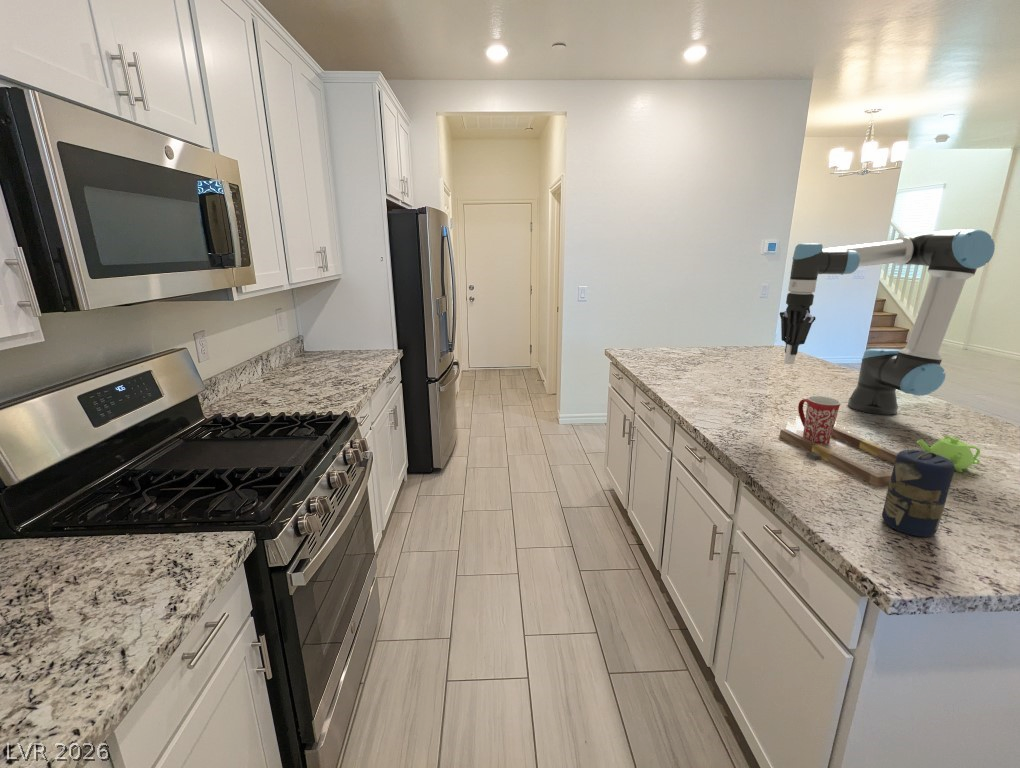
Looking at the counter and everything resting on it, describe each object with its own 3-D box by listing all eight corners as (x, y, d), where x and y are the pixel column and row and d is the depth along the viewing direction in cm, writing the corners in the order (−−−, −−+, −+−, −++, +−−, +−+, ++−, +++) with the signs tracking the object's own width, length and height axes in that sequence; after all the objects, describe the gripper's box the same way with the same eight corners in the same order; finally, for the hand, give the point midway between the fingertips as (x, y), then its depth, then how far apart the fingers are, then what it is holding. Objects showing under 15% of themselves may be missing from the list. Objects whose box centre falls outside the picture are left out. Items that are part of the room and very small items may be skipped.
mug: (840, 444, 148) (848, 403, 145) (816, 446, 146) (823, 405, 143) (807, 429, 160) (814, 391, 156) (785, 432, 158) (791, 393, 155)
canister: (869, 516, 109) (886, 443, 104) (908, 514, 109) (926, 442, 104) (906, 541, 99) (927, 463, 94) (948, 539, 100) (970, 460, 95)
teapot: (986, 473, 129) (994, 444, 127) (953, 477, 127) (961, 448, 124) (941, 456, 140) (949, 429, 137) (910, 460, 137) (917, 432, 135)
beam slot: (836, 431, 159) (838, 424, 158) (944, 477, 126) (947, 469, 126) (771, 437, 154) (772, 430, 153) (866, 487, 122) (868, 478, 121)
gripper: (776, 291, 160) (765, 359, 166) (806, 295, 147) (794, 368, 154) (795, 291, 161) (784, 358, 167) (827, 294, 149) (813, 367, 155)
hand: (789, 363), depth 161 cm, fingers closed
